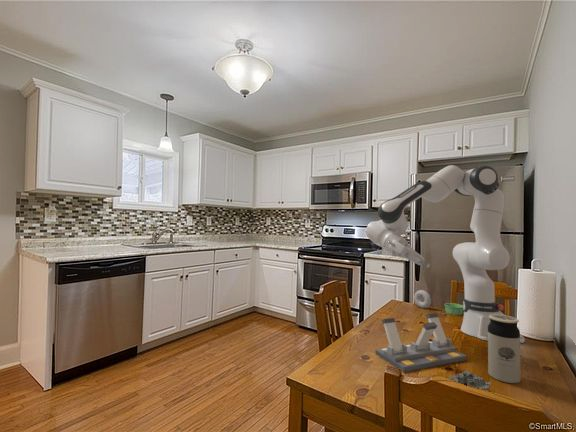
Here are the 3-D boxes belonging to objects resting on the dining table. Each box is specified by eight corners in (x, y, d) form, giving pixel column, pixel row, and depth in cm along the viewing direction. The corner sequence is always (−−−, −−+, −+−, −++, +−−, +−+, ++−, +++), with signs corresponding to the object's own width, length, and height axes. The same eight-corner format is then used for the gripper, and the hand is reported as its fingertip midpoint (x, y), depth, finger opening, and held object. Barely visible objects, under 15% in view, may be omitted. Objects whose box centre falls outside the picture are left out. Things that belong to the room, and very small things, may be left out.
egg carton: (472, 405, 77) (472, 389, 77) (444, 391, 83) (444, 376, 84) (493, 394, 82) (493, 378, 82) (466, 381, 89) (466, 367, 89)
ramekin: (466, 316, 154) (466, 308, 154) (447, 315, 156) (447, 306, 156) (460, 311, 163) (460, 303, 163) (442, 310, 165) (442, 302, 165)
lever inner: (436, 345, 108) (425, 315, 113) (445, 344, 109) (434, 314, 114) (439, 345, 106) (428, 314, 112) (448, 343, 108) (437, 313, 113)
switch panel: (375, 353, 107) (375, 339, 107) (433, 344, 116) (433, 331, 116) (403, 372, 93) (403, 355, 94) (466, 360, 103) (466, 345, 103)
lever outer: (391, 352, 101) (381, 319, 106) (401, 351, 102) (391, 318, 107) (393, 352, 100) (384, 318, 105) (404, 350, 101) (394, 317, 106)
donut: (432, 309, 166) (432, 291, 166) (428, 310, 164) (428, 292, 164) (416, 305, 174) (416, 288, 175) (412, 306, 173) (412, 288, 173)
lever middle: (413, 346, 105) (424, 323, 100) (422, 344, 106) (434, 322, 102) (416, 350, 104) (427, 326, 99) (425, 348, 105) (437, 325, 101)
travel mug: (489, 368, 97) (489, 312, 97) (520, 376, 92) (520, 317, 92) (486, 378, 90) (486, 317, 91) (520, 387, 85) (519, 323, 86)
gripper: (389, 232, 120) (418, 250, 110) (410, 245, 134) (437, 262, 124) (381, 245, 121) (408, 264, 111) (401, 257, 135) (428, 275, 125)
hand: (424, 263), depth 118 cm, fingers open, 8 cm apart
